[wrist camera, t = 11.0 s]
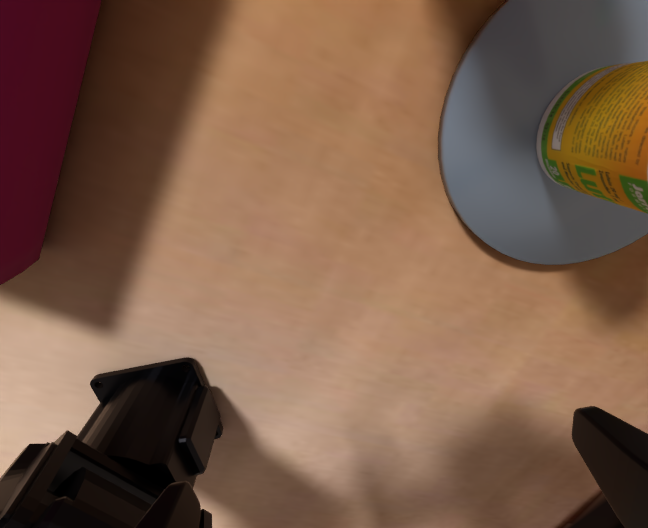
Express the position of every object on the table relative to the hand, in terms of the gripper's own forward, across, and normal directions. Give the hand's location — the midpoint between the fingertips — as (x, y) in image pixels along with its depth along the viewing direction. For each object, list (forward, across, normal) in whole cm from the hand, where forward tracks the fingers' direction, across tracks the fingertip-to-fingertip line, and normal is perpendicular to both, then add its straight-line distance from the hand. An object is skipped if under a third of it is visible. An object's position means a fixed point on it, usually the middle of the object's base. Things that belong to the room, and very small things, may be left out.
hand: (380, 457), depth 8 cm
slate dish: (+13, -13, -4) cm, 19 cm away
